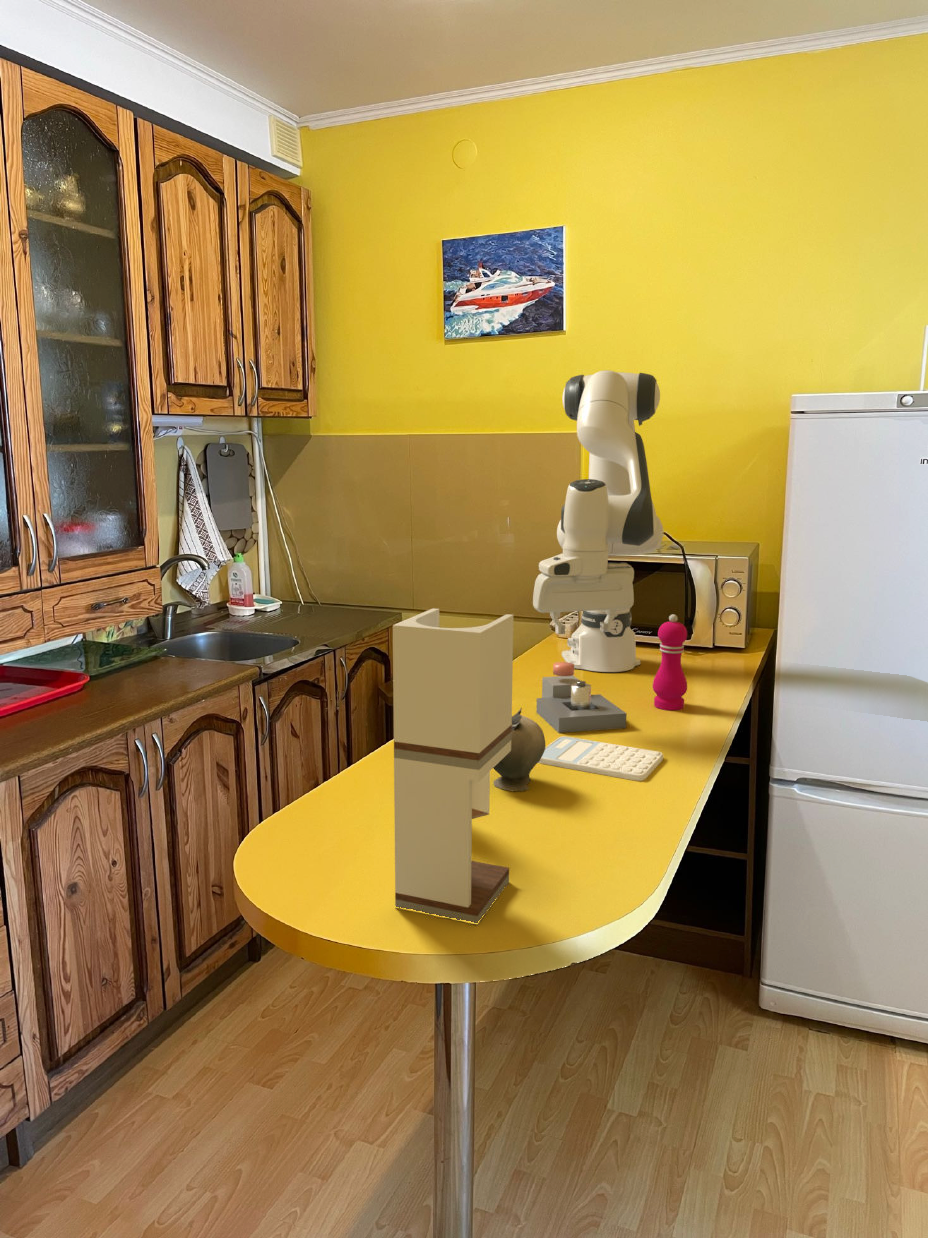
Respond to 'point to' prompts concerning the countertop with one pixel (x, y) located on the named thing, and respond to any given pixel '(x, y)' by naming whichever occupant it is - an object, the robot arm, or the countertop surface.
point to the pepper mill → (670, 667)
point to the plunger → (563, 669)
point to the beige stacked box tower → (447, 759)
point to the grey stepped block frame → (564, 720)
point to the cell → (580, 696)
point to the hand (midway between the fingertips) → (582, 632)
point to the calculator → (601, 758)
